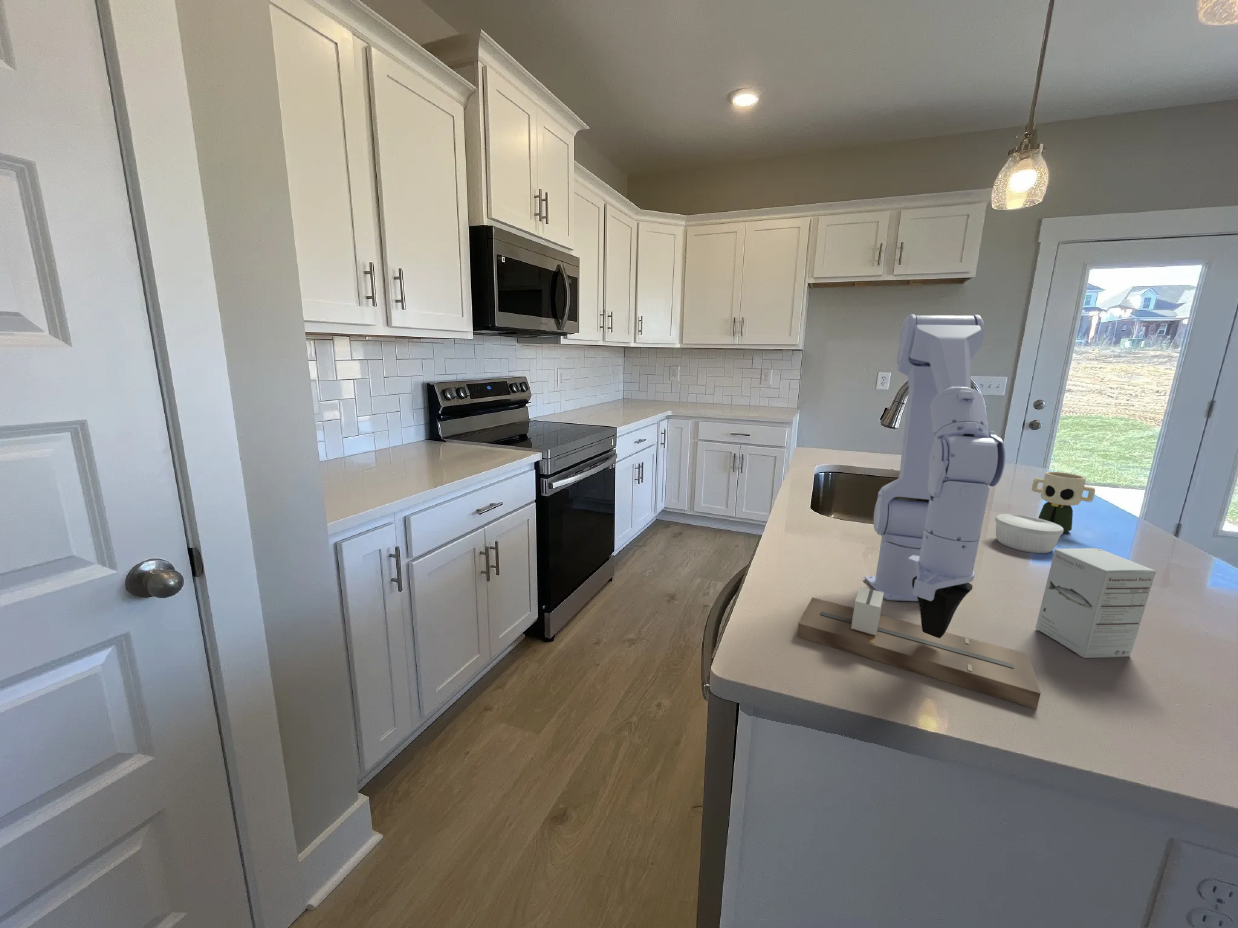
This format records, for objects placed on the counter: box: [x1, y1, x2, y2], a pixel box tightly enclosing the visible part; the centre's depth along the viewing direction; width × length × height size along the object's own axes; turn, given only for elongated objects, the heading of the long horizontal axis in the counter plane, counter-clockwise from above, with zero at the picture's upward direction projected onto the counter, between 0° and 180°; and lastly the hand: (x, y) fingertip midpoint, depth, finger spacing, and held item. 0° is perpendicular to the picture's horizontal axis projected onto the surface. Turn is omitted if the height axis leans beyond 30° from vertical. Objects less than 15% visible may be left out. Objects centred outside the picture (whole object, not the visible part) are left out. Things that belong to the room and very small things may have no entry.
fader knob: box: [851, 586, 884, 635], centre depth 68 cm, size 3×5×4 cm, turn 148°
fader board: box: [796, 597, 1042, 710], centre depth 67 cm, size 26×9×2 cm, turn 58°
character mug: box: [1031, 471, 1096, 533], centre depth 116 cm, size 11×7×13 cm, turn 37°
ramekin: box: [994, 513, 1064, 554], centre depth 106 cm, size 11×11×5 cm
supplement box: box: [1035, 547, 1157, 659], centre depth 69 cm, size 7×7×13 cm
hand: (932, 633), depth 65 cm, fingers closed
